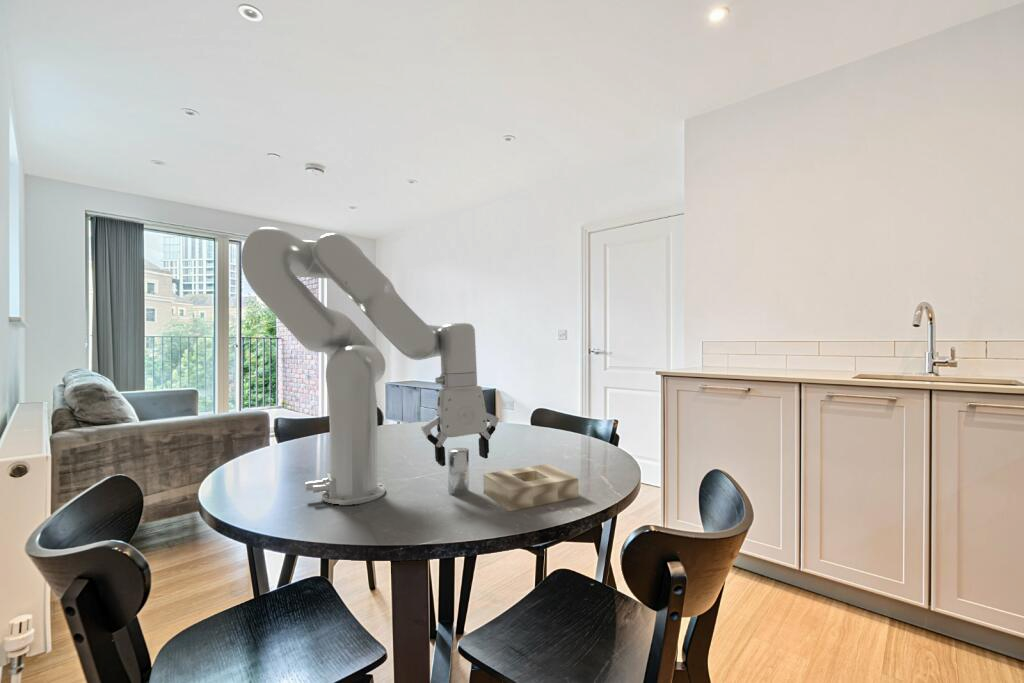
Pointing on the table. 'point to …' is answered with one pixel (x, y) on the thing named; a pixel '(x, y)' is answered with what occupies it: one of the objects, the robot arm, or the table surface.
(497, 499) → the jig
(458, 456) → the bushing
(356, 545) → the table surface
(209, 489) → the table surface
